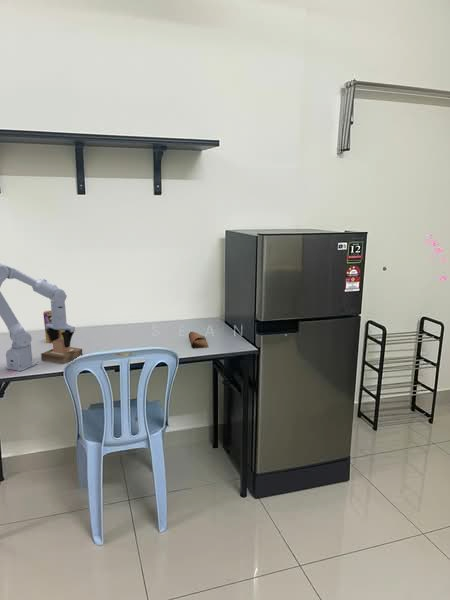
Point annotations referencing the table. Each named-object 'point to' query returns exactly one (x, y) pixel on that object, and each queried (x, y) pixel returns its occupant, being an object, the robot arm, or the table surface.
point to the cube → (60, 346)
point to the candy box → (49, 321)
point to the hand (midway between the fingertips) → (61, 346)
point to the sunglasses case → (197, 340)
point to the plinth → (61, 355)
